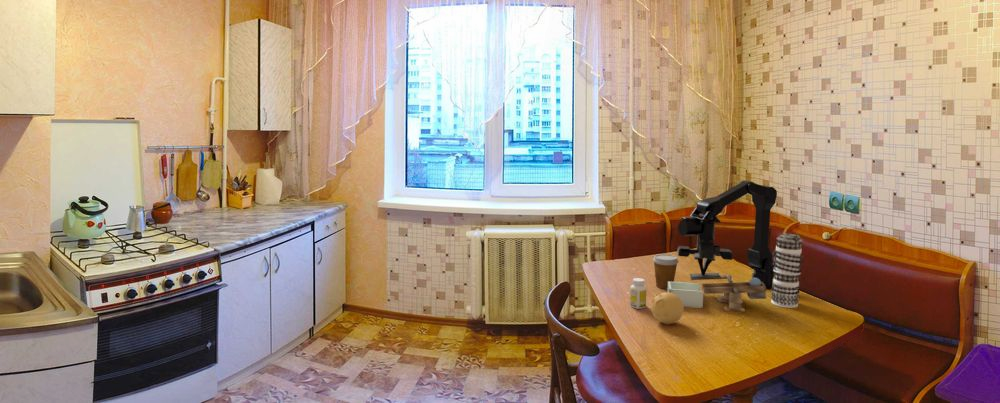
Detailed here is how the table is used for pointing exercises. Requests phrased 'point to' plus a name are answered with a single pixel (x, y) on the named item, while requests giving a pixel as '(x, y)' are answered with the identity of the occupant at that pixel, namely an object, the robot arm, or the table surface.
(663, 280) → the disposable coffee cup
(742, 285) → the lever
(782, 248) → the decorative candle
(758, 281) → the ball
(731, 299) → the fulcrum stand
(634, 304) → the supplement bottle
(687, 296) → the white storage tray
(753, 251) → the robot arm
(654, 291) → the table surface
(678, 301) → the stress ball
